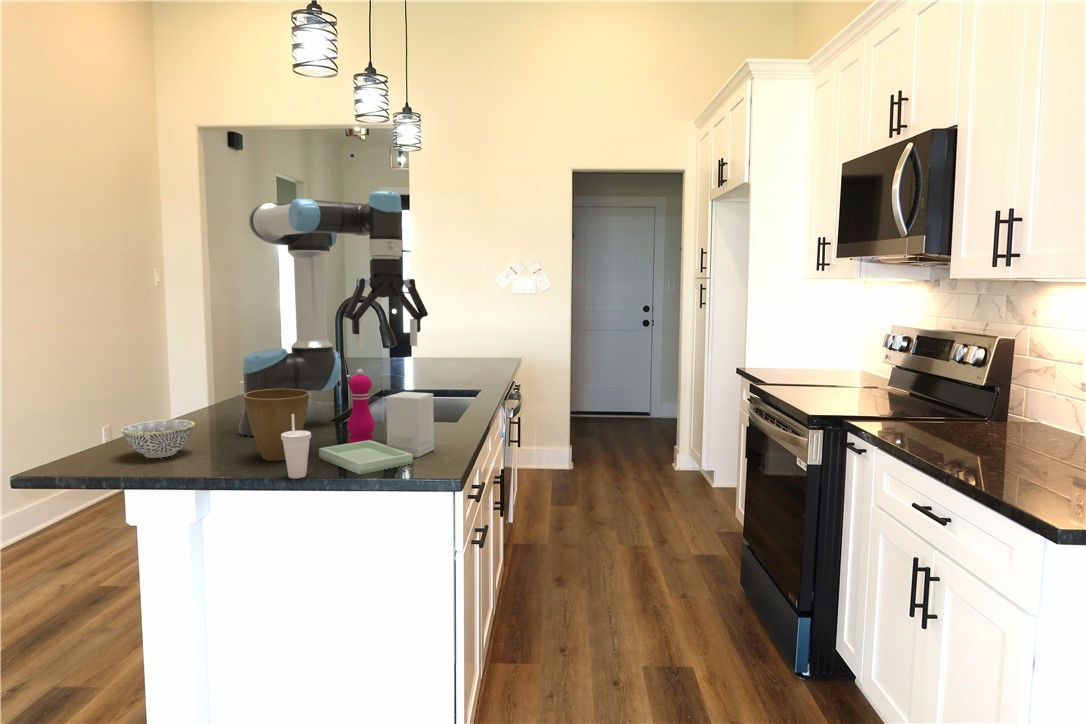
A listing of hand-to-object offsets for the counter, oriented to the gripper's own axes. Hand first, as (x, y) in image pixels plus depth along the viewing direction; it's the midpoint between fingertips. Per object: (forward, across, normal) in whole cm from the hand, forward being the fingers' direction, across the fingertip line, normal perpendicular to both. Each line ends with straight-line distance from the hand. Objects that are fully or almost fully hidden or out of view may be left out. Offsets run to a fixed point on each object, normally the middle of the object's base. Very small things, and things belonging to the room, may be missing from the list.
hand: (387, 347), depth 173 cm
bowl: (+28, -47, +31) cm, 63 cm away
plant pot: (+28, -23, +14) cm, 39 cm away
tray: (+27, -6, 0) cm, 28 cm away
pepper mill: (+28, 0, +20) cm, 34 cm away
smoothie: (+28, -23, -5) cm, 36 cm away
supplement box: (+28, +7, +2) cm, 29 cm away
